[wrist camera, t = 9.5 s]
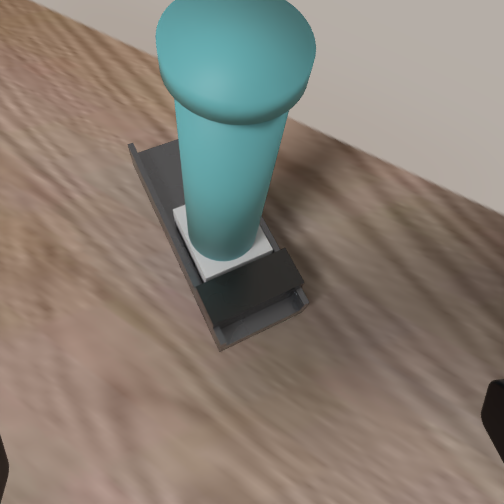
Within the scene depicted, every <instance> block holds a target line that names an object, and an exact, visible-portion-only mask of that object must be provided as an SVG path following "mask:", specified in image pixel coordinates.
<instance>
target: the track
mask: <svg viewBox="0 0 504 504" xmlns="http://www.w3.org/2000/svg"><path fill="white" fill-rule="evenodd" d="M128 148H129V151H130V155H131V158H132V162H133V165H134V167H135V169H136V172H137V174H138V176H139V178H140V180H141V182H142V185H143V187H144V189H145V191H146V193H147V195H148V198H149V200H150V202H151V204H152V206H153V208H154V211H155V213H156V215H157V217H158V219H159V221H160V224H161V226H162V228H163V230H164V232H165V234H166V237H167V239H168V241H169V243H170V245H171V247H172V250H173V252H174V254H175V256H176V258H177V260H178V263H179V265H180V267H181V269H182V271H183V274H184V276H185V278H186V280H187V282H188V284H189V287H190V289H191V291H192V293H193V295H194V297H195V300H196V302H197V304H198V306H199V308H200V310H201V313H202V315H203V317H204V319H205V321H206V323H207V326H208V328H209V330H210V332H211V334H212V336H213V339H214V341H215V343H216V345H217V347H218V349H219V352H221V351H223V350H225V349H227V348H229V347H231V346H233V345H235V344H237V343H239V342H241V341H243V340H245V339H247V338H249V337H252V336H254V335H256V334H258V333H260V332H262V331H264V330H266V329H268V328H270V327H272V326H274V325H276V324H278V323H280V322H283V321H285V320H287V319H289V318H291V317H293V316H295V315H297V314H299V313H301V312H302V311H303V310H304V309H305V307H306V306H307V305H308V304H309V301H308V299H307V297H306V295H305V294H304V292H303V290H302V288H301V287H302V286H303V284H304V281H303V279H302V277H301V275H300V274H299V272H298V270H297V268H296V266H295V265H294V263H293V261H292V259H291V257H290V256H289V254H288V252H287V250H286V248H283V249H281V250H280V248H279V246H278V245H277V243H276V241H275V239H274V237H273V236H272V234H271V232H270V230H269V228H268V227H267V225H266V223H265V221H264V219H263V217H262V216H261V220H260V223H259V225H260V227H261V228H262V230H263V232H264V234H265V236H266V238H267V240H268V241H269V243H270V245H271V247H272V249H273V251H272V253H271V254H269V255H267V256H265V257H262V258H260V259H258V260H256V261H253V262H251V263H249V264H246V265H244V266H242V267H239V268H237V269H235V270H233V271H230V272H228V273H226V274H223V275H221V276H219V277H216V278H214V279H212V280H210V281H207V282H205V283H203V281H202V279H201V277H200V275H199V273H198V271H197V269H196V266H195V264H194V262H193V260H192V258H191V256H190V254H189V252H188V250H187V247H186V245H185V243H184V241H183V239H182V237H181V235H180V233H179V231H178V228H177V226H176V224H175V220H174V214H173V209H175V208H178V207H180V206H183V205H185V198H184V188H183V178H182V169H181V159H180V149H179V139H177V140H174V141H171V142H168V143H165V144H162V145H159V146H156V147H153V148H151V149H148V150H145V151H142V152H139V153H137V151H136V148H135V146H134V144H133V143H131V144H128Z"/></svg>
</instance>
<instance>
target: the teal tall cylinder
mask: <svg viewBox="0 0 504 504" xmlns="http://www.w3.org/2000/svg"><path fill="white" fill-rule="evenodd" d="M156 47H157V53H158V61H159V69H160V73H161V77H162V80H163V82H164V85H165V86H166V88H167V90H168V91H169V93H170V94H171V95H172V96H173V97H174V100H175V110H176V120H177V130H178V139H179V149H180V159H181V169H182V178H183V188H184V198H185V205H183V206H180V207H178V208H175V209H173V214H174V220H175V224H176V226H177V228H178V231H179V233H180V235H181V237H182V239H183V241H184V243H185V245H186V247H187V250H188V252H189V254H190V256H191V258H192V260H193V262H194V264H195V266H196V269H197V271H198V273H199V275H200V277H201V279H202V281H203V283H205V282H207V281H210V280H212V279H214V278H216V277H219V276H221V275H223V274H226V273H228V272H230V271H233V270H235V269H237V268H239V267H242V266H244V265H246V264H249V263H251V262H253V261H256V260H258V259H260V258H262V257H265V256H267V255H269V254H271V253H272V251H273V249H272V247H271V245H270V243H269V241H268V240H267V238H266V236H265V234H264V232H263V230H262V228H261V227H260V225H259V223H260V220H261V216H262V212H263V208H264V204H265V200H266V196H267V193H268V189H269V185H270V181H271V177H272V173H273V170H274V166H275V162H276V158H277V154H278V150H279V146H280V143H281V139H282V135H283V131H284V127H285V123H286V120H287V116H288V112H289V110H290V109H291V108H292V107H293V106H294V105H295V104H296V103H297V102H298V101H299V100H300V98H301V97H302V95H303V94H304V91H305V89H306V86H307V83H308V80H309V77H310V73H311V70H312V66H313V63H314V59H315V54H316V44H315V38H314V34H313V32H312V29H311V27H310V25H309V24H308V22H307V20H306V19H305V18H304V16H303V15H302V14H301V13H300V12H299V11H298V10H297V9H296V8H295V7H294V6H293V5H291V4H290V3H289V2H287V1H286V0H175V1H173V2H172V3H171V4H170V5H169V6H168V7H167V8H166V10H165V11H164V13H163V14H162V16H161V18H160V20H159V22H158V25H157V29H156Z"/></svg>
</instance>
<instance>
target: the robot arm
mask: <svg viewBox="0 0 504 504" xmlns="http://www.w3.org/2000/svg"><path fill="white" fill-rule="evenodd" d="M481 418H482V422H483V425H484V427H485V429H486V431H487V433H488V435H489V437H490V439H491V440H492V442H493V444H494V446H495V448H496V450H497V452H498V453H499V455H500V457H501V459H502V461H503V463H504V379H499V380H493V381H492V382H491V383H490V384H489V386H488V389H487V393H486V396H485V400H484V403H483V407H482V411H481ZM8 473H9V463H8V459H7V455H6V452H5V449H4V445H3V442H2V439H1V436H0V504H1V500H2V496H3V493H4V489H5V486H6V482H7V478H8Z"/></svg>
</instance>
